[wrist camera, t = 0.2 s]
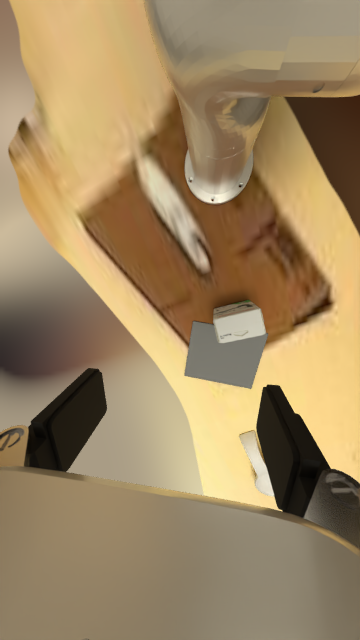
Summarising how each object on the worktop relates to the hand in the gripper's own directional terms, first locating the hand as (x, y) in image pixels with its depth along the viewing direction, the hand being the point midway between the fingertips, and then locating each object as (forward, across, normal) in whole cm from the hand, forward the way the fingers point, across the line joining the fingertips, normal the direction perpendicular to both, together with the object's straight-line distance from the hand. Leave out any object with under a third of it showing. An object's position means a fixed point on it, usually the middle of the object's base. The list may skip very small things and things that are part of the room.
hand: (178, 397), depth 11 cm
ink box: (+36, -8, +5) cm, 37 cm away
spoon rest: (+36, -21, +51) cm, 66 cm away
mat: (+36, -6, +16) cm, 40 cm away
